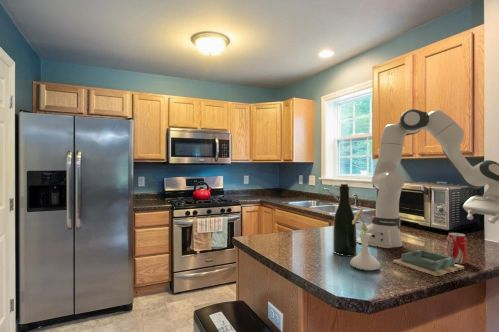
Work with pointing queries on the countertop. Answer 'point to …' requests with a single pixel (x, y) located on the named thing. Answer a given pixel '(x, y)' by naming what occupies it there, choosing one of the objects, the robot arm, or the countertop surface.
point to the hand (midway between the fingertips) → (479, 220)
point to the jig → (429, 262)
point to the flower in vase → (364, 249)
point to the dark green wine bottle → (344, 225)
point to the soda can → (457, 247)
